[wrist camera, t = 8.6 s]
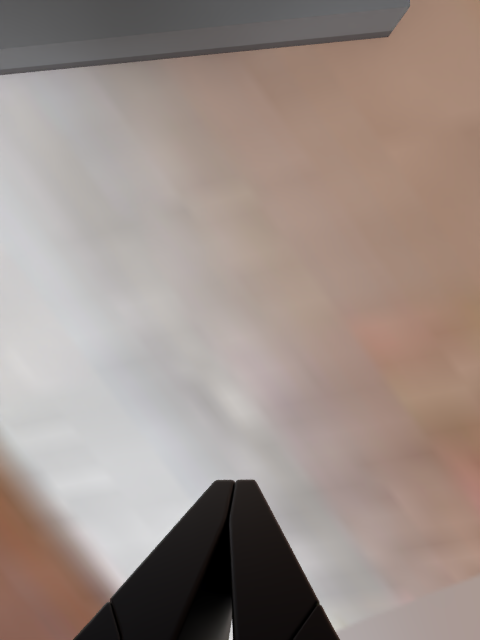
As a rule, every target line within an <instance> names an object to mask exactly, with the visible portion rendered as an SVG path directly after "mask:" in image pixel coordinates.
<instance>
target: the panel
mask: <svg viewBox="0 0 480 640" xmlns="http://www.w3.org/2000/svg"><path fill="white" fill-rule="evenodd" d="M409 7H410V0H0V75H5V74H15V73H25V72H35V71H45V70H56V69H66V68H76V67H86V66H96V65H106V64H117V63H127V62H137V61H147V60H157V59H167V58H178V57H188V56H198V55H208V54H218V53H228V52H239V51H249V50H259V49H269V48H279V47H289V46H300V45H310V44H320V43H330V42H340V41H350V40H361V39H371V38H381V37H388V36H389V35H390V34H391V32H392V31H393V29H394V28H395V27H396V25H397V24H398V22H399V21H400V20H401V18H402V17H403V15H404V14H405V13H406V11H407V10H408V8H409Z"/></svg>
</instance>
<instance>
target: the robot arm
mask: <svg viewBox="0 0 480 640" xmlns="http://www.w3.org/2000/svg"><path fill="white" fill-rule="evenodd" d="M231 621H232V625H233V640H340V639H339V637H338V635H337V634H336V632H335V630H334V628H333V627H332V625H331V623H330V621H329V619H328V617H327V615H326V613H325V611H324V609H323V608H322V606H321V605H320V604H319V600H318V599H317V597H316V595H315V593H314V591H313V589H312V587H311V585H310V583H309V581H308V580H307V578H306V576H305V574H304V572H303V570H302V568H301V566H300V564H299V562H298V560H297V559H296V557H295V555H294V553H293V551H292V549H291V547H290V545H289V543H288V541H287V539H286V538H285V536H284V534H283V532H282V530H281V528H280V526H279V524H278V522H277V520H276V519H275V517H274V515H273V513H272V511H271V509H270V507H269V505H268V503H267V501H266V499H265V498H264V496H263V494H262V492H261V490H260V488H259V486H258V484H257V482H256V481H255V480H237V481H236V482H234V481H233V480H216V481H214V482H213V483H212V485H211V486H210V487H209V488H208V489H207V490H206V491H205V492H204V494H203V495H202V496H201V497H200V498H199V499H198V500H197V501H196V503H195V504H194V505H193V506H192V507H191V508H190V509H189V510H188V512H187V513H186V514H185V515H184V516H183V517H182V518H181V519H180V521H179V522H178V523H177V524H176V525H175V526H174V527H173V529H172V530H171V531H170V532H169V533H168V534H167V535H166V536H165V538H164V539H163V540H162V541H161V542H160V543H159V544H158V545H157V547H156V548H155V549H154V550H153V551H152V552H151V553H150V554H149V556H148V557H147V558H146V559H145V560H144V561H143V562H142V563H141V565H140V566H139V567H138V568H137V569H136V570H135V571H134V573H133V574H132V575H131V576H130V577H129V578H128V579H127V580H126V582H125V583H124V584H123V585H122V586H121V587H120V588H119V589H118V591H117V592H116V593H115V594H114V595H113V596H112V597H111V599H110V602H107V603H106V604H105V605H104V606H103V607H102V608H101V609H100V611H99V612H98V613H97V614H96V615H95V616H94V617H93V618H92V620H91V621H90V622H89V623H88V624H87V625H86V626H85V627H84V628H83V629H82V630H81V631H80V633H79V634H78V635H77V636H76V637H75V638H74V639H73V640H229V633H230V627H231Z"/></svg>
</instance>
